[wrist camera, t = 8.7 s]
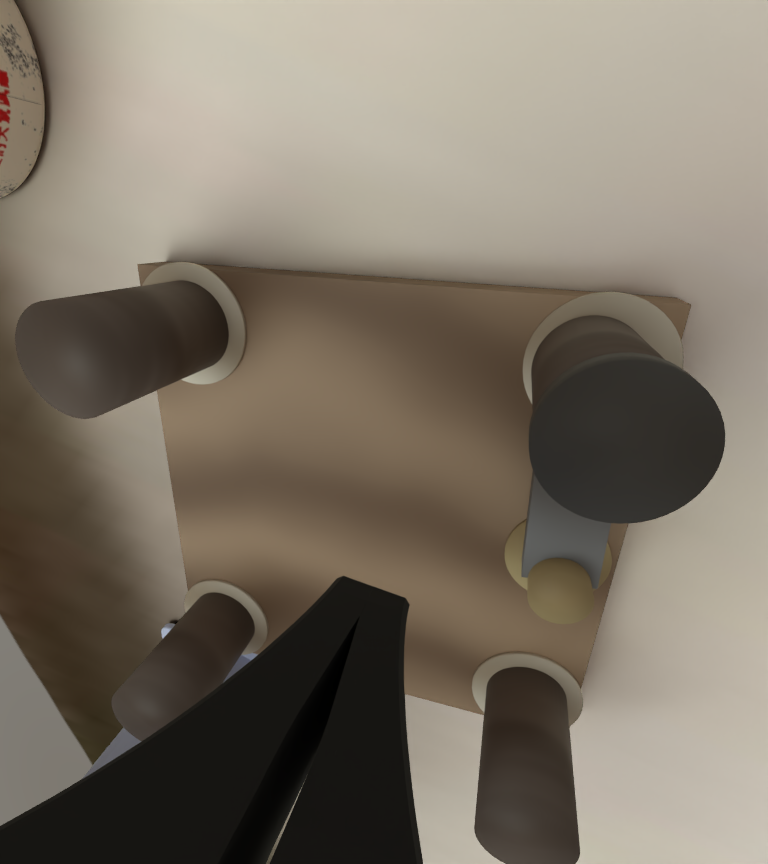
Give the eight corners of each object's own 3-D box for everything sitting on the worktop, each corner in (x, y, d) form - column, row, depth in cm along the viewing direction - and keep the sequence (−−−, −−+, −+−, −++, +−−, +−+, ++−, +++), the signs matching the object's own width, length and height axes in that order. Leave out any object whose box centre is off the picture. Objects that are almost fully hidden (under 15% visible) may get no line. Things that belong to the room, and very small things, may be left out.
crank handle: (604, 595, 17) (637, 748, 12) (504, 579, 18) (496, 716, 13) (664, 313, 13) (748, 366, 8) (534, 309, 14) (539, 355, 9)
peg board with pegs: (567, 710, 22) (584, 902, 16) (209, 618, 26) (110, 741, 20) (685, 291, 15) (804, 339, 8) (159, 256, 19) (-24, 270, 12)
